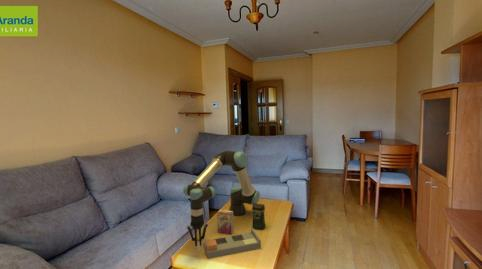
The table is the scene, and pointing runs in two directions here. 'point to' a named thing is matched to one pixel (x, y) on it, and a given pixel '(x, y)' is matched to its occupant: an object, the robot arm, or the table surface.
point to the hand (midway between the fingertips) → (198, 250)
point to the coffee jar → (258, 216)
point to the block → (211, 245)
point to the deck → (234, 244)
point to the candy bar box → (225, 221)
